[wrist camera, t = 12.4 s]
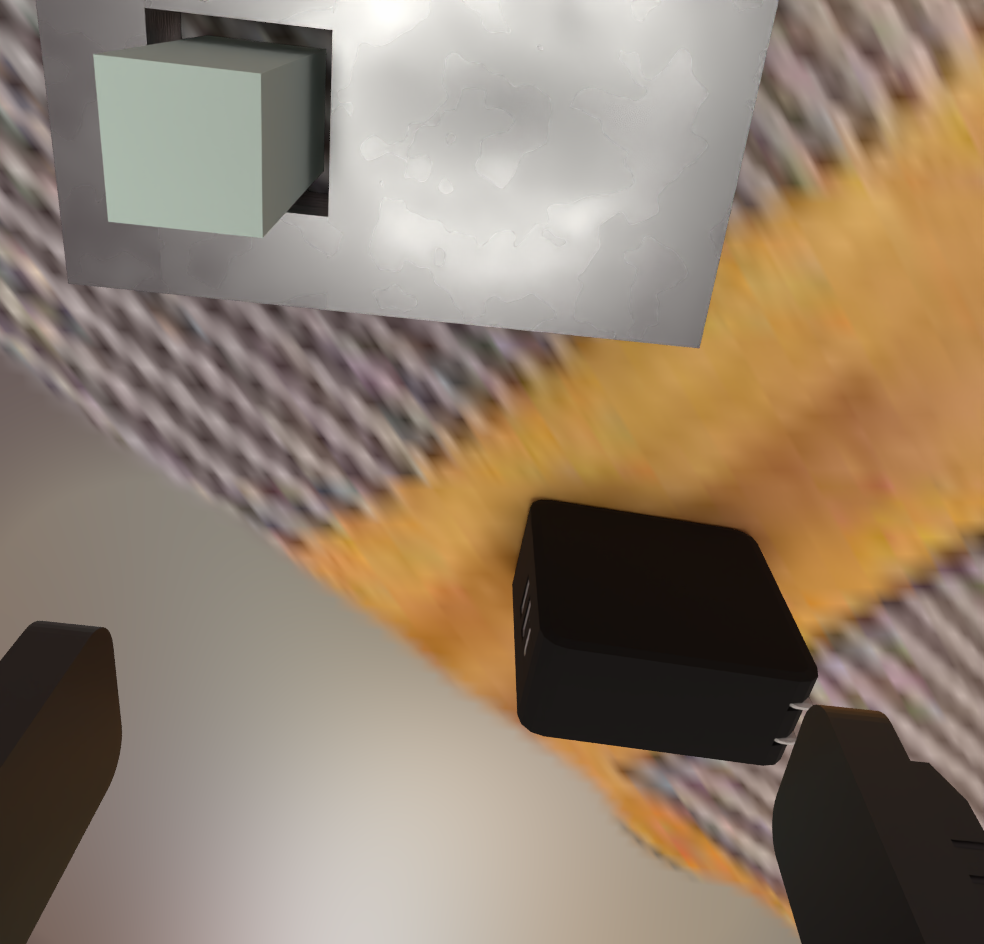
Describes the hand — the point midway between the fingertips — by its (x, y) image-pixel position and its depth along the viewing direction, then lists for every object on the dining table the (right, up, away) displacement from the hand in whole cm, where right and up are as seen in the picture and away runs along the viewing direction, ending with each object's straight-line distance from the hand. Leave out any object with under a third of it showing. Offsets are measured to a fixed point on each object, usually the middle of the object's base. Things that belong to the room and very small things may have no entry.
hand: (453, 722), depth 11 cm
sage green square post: (-7, +16, +21) cm, 27 cm away
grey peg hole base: (-2, +15, +21) cm, 26 cm away
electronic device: (+7, -1, +30) cm, 31 cm away
